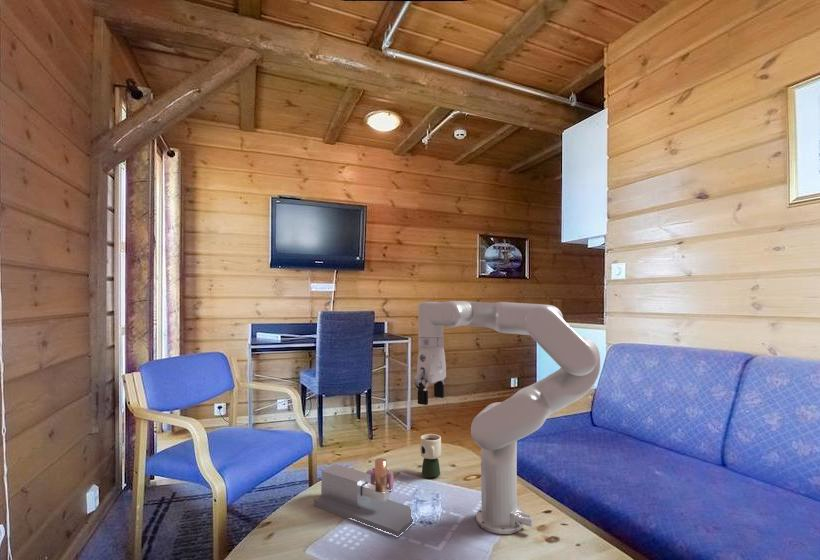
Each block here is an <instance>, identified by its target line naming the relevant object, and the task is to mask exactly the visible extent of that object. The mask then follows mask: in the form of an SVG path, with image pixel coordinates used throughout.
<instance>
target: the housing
mask: <svg viewBox="0 0 820 560" xmlns="http://www.w3.org/2000/svg"><path fill="white" fill-rule="evenodd" d="M364 483H369V484H371V474H368V473H366V472H364V471H361V470H357V469H355V468H351V467H346V466H343V465H341V464H337V463H334V464H332V465H331V466H328V467H326V468H324V469H323V470H321V483H320V484H321V486H320V487H321V489H320V490H321V491H320V492H321V496H323V497H326V498H328V499H331V500H334V501H337V502H340V503H342V504H345V505H348V506H351V507H353V508H356V509H358V508H359V507H361V506H362V505H364V504H365V503H367V502H368V501H370V500H371V498H370V497H367V496H364V495H361V485H362V484H364Z"/></svg>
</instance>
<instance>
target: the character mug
mask: <svg viewBox="0 0 820 560" xmlns="http://www.w3.org/2000/svg"><path fill="white" fill-rule="evenodd" d="M419 449H420V456H421V457H422V458H423V460H422V468H421V474H422V476H423V477H425V478H431V479H432V478H435V477H439V476H440V475H441V470H440V467H441V466H440V462H439V461H440V460H439V458H441V456H442V436H440V435H438V434H435V433H426V434H422V435H421V436H420V448H419Z"/></svg>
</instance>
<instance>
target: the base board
mask: <svg viewBox="0 0 820 560" xmlns="http://www.w3.org/2000/svg"><path fill="white" fill-rule="evenodd" d="M313 506H314V507H316V508H319V509H321V510H325V511H326V512H329V513H332V514H335V515H337V516H339V517H343V518H345V519H347V518H352V519H355V520H357V521H360V522H362V523H365V524H367V525H370V526H373V527H375V528H378V529H381V530H383V531H386V532H389V533H392V534H394V535H396V536H399V535H400V534H401V533H402V532H404V531H405V530H406V529H407V528H408V527H409V526H410V525H411V524H412V522H413V519H412V517H411V509H410V507H411V506H409V505H406V504H403V503H401V502H398V501H394V500H391V499H388V500H386V501H385V502H382V501H379V500H376V499H373V498H371V500H370V501H368V502H367V503H365V504H364V505H362V506H361V507H359V508H358V509H356V508H353V507H351V506H348V505H345V504H342V503H340V502H337V501H334V500H331V499H328V498H326V497H323V496H319V497H316V499H313Z"/></svg>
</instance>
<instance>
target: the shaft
mask: <svg viewBox="0 0 820 560" xmlns="http://www.w3.org/2000/svg"><path fill="white" fill-rule="evenodd" d="M374 468H375V485H372V484H369V483H364V484H362V485H361V495H364V496H367V497H370V498H373V499H376V500H379V501H382V502H385V501H386V500H390V491H389V488H387V486H386V469H387V459H386V458H382V457H380V458H376V459H375V460H374Z"/></svg>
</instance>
